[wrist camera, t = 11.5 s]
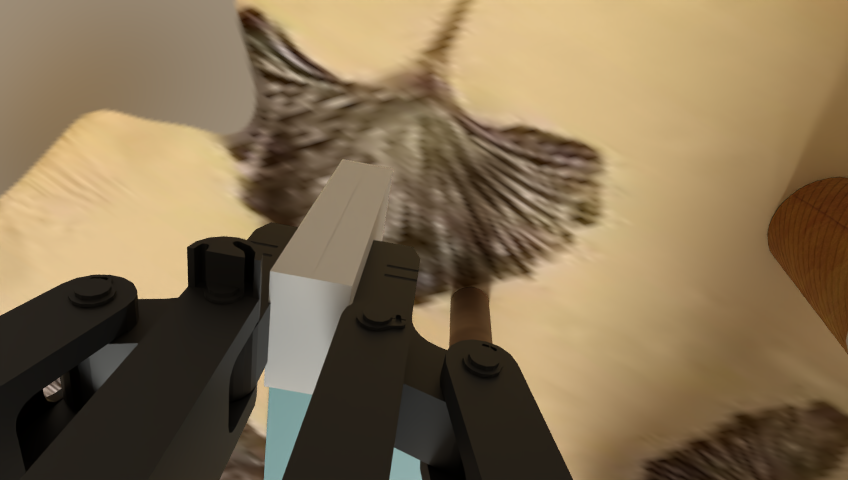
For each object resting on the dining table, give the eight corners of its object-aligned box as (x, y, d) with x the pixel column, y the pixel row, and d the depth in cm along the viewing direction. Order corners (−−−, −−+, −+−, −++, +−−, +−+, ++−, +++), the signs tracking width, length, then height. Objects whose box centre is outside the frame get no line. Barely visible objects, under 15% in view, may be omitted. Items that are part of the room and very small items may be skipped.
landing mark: (459, 383, 40) (459, 385, 39) (426, 507, 46) (425, 509, 46) (272, 349, 39) (271, 351, 39) (264, 479, 46) (263, 480, 45)
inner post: (492, 291, 36) (501, 381, 28) (484, 322, 37) (490, 418, 29) (454, 284, 36) (452, 373, 28) (447, 315, 37) (443, 409, 29)
